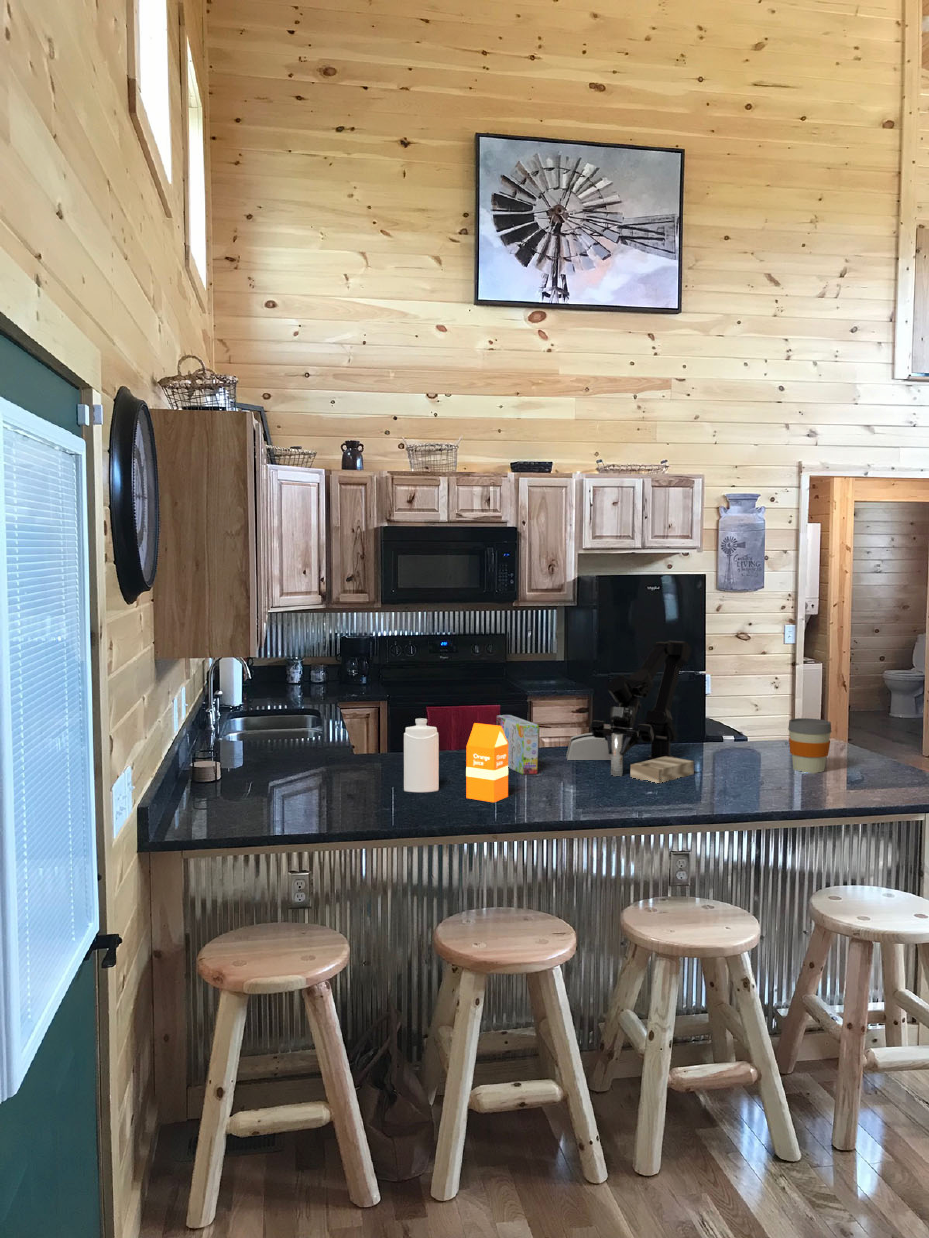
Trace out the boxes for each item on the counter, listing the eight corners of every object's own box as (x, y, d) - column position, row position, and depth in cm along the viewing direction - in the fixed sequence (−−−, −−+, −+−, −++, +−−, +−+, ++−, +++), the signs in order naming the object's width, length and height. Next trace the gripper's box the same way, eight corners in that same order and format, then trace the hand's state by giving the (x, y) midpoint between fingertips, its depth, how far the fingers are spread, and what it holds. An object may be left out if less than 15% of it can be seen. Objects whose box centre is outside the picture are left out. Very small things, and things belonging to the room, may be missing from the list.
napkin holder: (615, 757, 321) (618, 730, 317) (618, 764, 316) (621, 737, 312) (565, 757, 320) (567, 730, 316) (567, 765, 315) (569, 738, 311)
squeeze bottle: (403, 788, 277) (403, 792, 272) (403, 717, 276) (403, 721, 271) (438, 787, 278) (438, 792, 273) (438, 717, 276) (438, 720, 271)
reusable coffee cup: (817, 776, 294) (818, 726, 293) (779, 769, 303) (780, 721, 302) (838, 770, 302) (839, 721, 301) (800, 763, 311) (801, 716, 310)
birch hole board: (665, 768, 303) (665, 755, 303) (693, 774, 296) (693, 760, 296) (630, 777, 291) (630, 764, 291) (658, 783, 284) (658, 770, 283)
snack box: (539, 774, 296) (539, 724, 295) (522, 775, 294) (522, 725, 293) (510, 760, 316) (510, 713, 315) (494, 761, 314) (494, 714, 313)
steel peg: (615, 773, 297) (616, 732, 296) (624, 775, 294) (625, 733, 294) (608, 775, 294) (609, 733, 294) (617, 777, 292) (618, 735, 291)
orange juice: (493, 802, 262) (494, 728, 261) (465, 797, 267) (466, 724, 265) (508, 796, 269) (508, 723, 267) (480, 792, 273) (481, 720, 272)
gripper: (592, 694, 300) (579, 735, 291) (652, 698, 292) (641, 741, 283) (599, 715, 308) (588, 757, 299) (658, 720, 300) (648, 763, 291)
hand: (615, 754), depth 293 cm, fingers closed on steel peg, 3 cm apart
